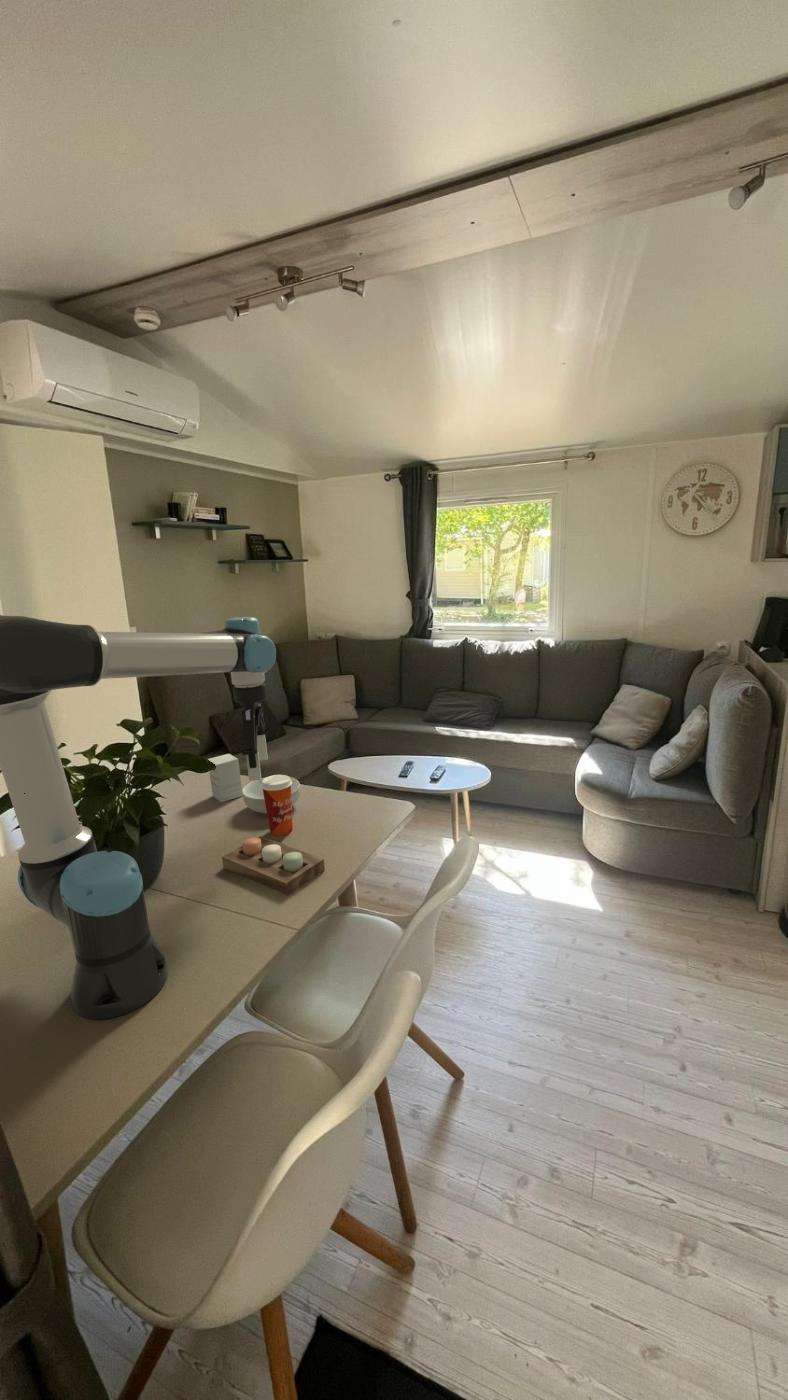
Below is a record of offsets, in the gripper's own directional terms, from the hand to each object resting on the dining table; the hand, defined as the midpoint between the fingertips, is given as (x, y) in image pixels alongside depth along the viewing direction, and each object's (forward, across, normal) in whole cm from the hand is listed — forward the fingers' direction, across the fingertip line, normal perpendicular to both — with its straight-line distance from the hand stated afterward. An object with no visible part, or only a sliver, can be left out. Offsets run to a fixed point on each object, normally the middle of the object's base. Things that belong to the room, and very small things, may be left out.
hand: (258, 769), depth 136 cm
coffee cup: (+22, +11, -2) cm, 25 cm away
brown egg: (+21, -4, +3) cm, 21 cm away
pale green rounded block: (+21, -13, -7) cm, 25 cm away
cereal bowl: (+23, +27, +1) cm, 35 cm away
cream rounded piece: (+21, -8, -2) cm, 22 cm away
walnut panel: (+22, -8, -2) cm, 24 cm away
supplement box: (+23, +39, +17) cm, 48 cm away
